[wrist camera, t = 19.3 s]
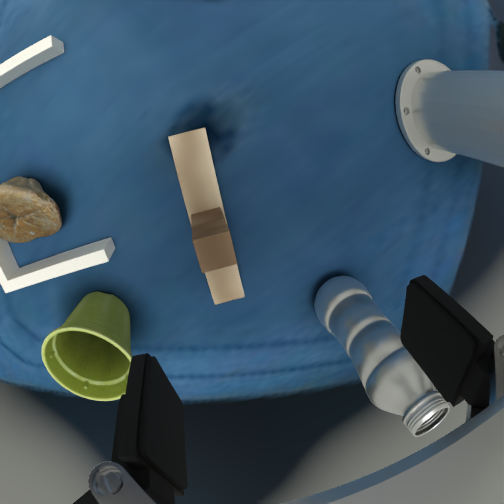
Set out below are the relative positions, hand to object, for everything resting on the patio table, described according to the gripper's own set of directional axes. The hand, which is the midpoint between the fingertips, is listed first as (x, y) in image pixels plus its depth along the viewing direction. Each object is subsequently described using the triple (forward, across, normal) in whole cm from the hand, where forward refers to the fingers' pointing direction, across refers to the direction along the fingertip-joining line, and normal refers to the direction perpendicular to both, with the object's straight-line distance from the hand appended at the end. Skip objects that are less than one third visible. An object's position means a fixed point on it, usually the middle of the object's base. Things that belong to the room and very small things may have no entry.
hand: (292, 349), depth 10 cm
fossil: (+20, +20, -5) cm, 28 cm away
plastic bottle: (+20, -9, +14) cm, 26 cm away
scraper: (+20, +2, +1) cm, 20 cm away
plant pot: (+20, +16, +8) cm, 27 cm away
